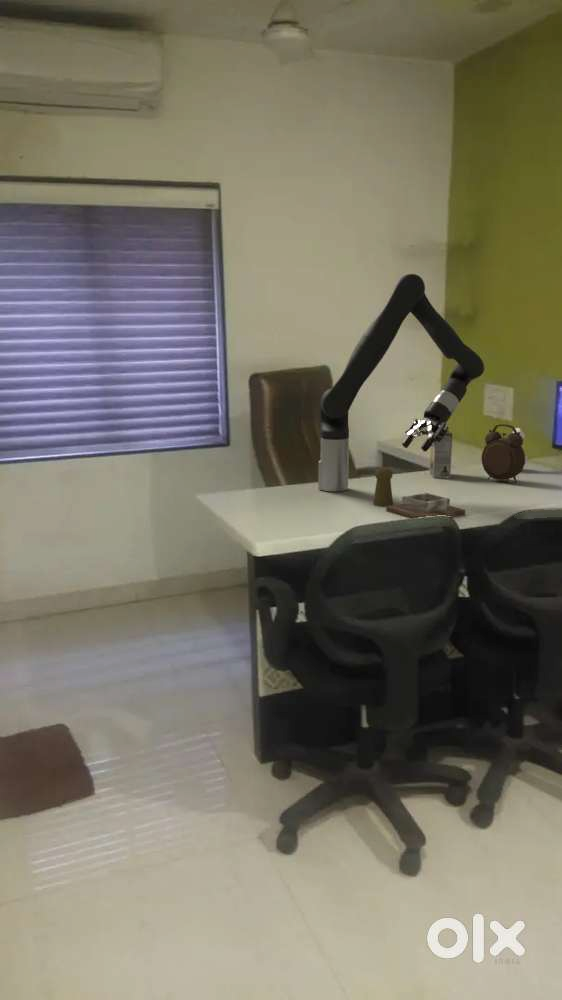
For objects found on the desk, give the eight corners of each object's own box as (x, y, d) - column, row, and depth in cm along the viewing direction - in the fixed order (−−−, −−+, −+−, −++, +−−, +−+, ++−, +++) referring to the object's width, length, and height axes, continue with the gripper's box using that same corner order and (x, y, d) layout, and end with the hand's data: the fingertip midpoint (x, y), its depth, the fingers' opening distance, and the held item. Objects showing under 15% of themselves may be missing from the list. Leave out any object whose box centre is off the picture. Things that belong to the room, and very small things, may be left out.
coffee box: (428, 473, 281) (430, 430, 278) (446, 473, 281) (448, 430, 278) (433, 478, 272) (435, 433, 269) (451, 478, 272) (453, 433, 269)
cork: (395, 503, 235) (396, 467, 232) (389, 507, 229) (390, 471, 227) (376, 501, 237) (377, 466, 235) (370, 505, 232) (371, 469, 229)
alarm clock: (526, 483, 264) (530, 425, 259) (514, 486, 259) (518, 427, 255) (490, 477, 275) (494, 421, 270) (478, 479, 270) (481, 423, 266)
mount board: (424, 522, 211) (425, 506, 210) (386, 511, 224) (386, 496, 223) (465, 514, 220) (465, 499, 219) (425, 504, 233) (426, 489, 232)
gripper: (419, 398, 243) (391, 437, 240) (452, 402, 232) (423, 443, 228) (431, 414, 247) (404, 452, 244) (464, 418, 236) (436, 458, 232)
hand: (413, 448), depth 236 cm, fingers open, 8 cm apart
